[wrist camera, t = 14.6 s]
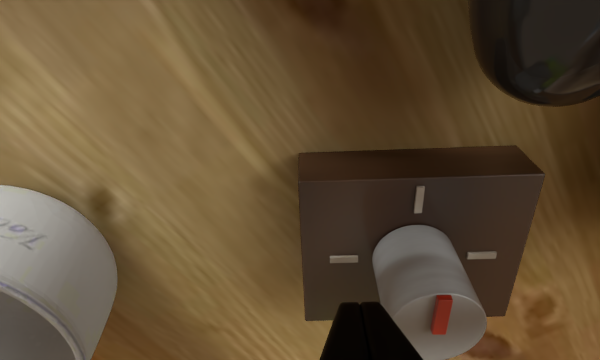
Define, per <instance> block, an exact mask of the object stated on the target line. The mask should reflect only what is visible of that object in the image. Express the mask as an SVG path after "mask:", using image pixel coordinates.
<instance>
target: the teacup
mask: <svg viewBox="0 0 600 360" xmlns="http://www.w3.org/2000/svg"><path fill="white" fill-rule="evenodd" d="M116 290H117V267H116V262H115V259H114V255H113V253H112V251H111V249H110V247H109V245H108V243H107V241H106V240H105V238H104V237H103V235H102V234H101V233H100V232H99V230H98V229H97V228H96V227H95V226H94V225H93V224H92V223H91V222H90V221H89V220H88V219H87V218H85V217H84V216H83V215H82V214H81V213H79V212H78V211H76V210H75V209H73V208H72V207H70V206H68V205H67V204H65V203H63V202H61V201H59V200H57V199H55V198H53V197H50V196H48V195H45V194H42V193H39V192H36V191H33V190H29V189H25V188H20V187H13V186H3V185H0V360H91V358H92V355H93V353H94V351H95V349H96V346H97V344H98V342H99V339H100V337H101V334H102V332H103V329H104V327H105V324H106V322H107V319H108V317H109V314H110V311H111V309H112V305H113V302H114V299H115V294H116Z"/></svg>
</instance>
